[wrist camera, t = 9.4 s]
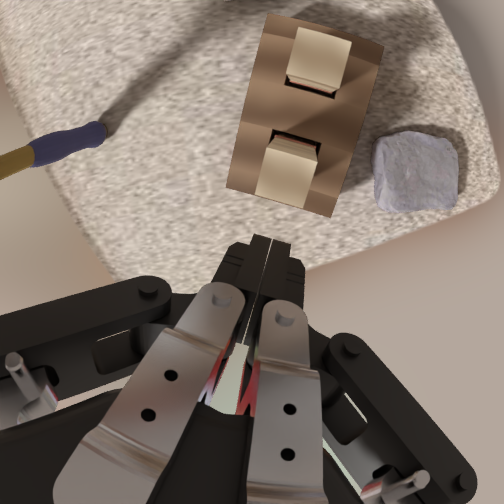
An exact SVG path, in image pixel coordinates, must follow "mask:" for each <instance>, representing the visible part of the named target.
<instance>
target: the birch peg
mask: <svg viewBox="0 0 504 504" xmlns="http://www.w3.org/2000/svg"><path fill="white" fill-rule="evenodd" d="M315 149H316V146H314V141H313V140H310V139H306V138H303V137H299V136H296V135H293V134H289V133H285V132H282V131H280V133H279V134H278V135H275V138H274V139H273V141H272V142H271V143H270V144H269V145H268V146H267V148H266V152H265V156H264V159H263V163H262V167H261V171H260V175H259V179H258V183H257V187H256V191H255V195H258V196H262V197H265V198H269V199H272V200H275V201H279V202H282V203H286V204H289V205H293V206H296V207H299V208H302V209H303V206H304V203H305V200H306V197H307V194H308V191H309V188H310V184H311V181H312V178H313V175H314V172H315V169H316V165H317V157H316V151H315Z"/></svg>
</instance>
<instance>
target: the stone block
mask: <svg viewBox="0 0 504 504" xmlns="http://www.w3.org/2000/svg"><path fill="white" fill-rule="evenodd" d="M371 164H372V169H373V174H374V176H375V182H374V184H375V185H374V192H375V199H376V202H377V205H378V207H379V208H381V209H382V210H384V211H387V212H397V213H402V212H413V211H419V210H424V209H443V210H450V209H452V208H453V207H455V205H456V202H457V199H458V174H459V165H458V154H457V151H456V150H455V149H454V148H453V144H452V143H451V142H449V141H448V140H447V139H446V138H442V137H435V136H431V135H429V134H424V133H421V132H414V131H403V132H395V133H393V134H391V135H388V136H381V137H379V138H378V139H377V140H375V142H374V143H373V146H372V155H371Z"/></svg>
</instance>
